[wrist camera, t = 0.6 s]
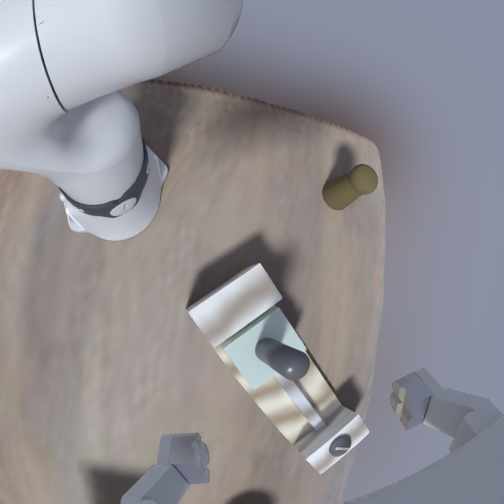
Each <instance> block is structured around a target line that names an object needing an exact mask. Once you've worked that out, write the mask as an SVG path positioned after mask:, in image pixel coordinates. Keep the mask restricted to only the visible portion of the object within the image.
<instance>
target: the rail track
mask: <svg viewBox="0 0 504 504" xmlns="http://www.w3.org/2000/svg"><path fill="white" fill-rule="evenodd" d="M282 298H283V297H282V296H281V294H280V293H279V291H278V290H277V288H276V287H275V285H274V284H273V282H272V280H271V279H270V277H269V276H268V274H267V273H266V271H265V270H264V268H263V267H262V265H261V264H260V263H258V264H255V265H252V266H249V267H247V268H245V269H244V270H242V271H241V272H239V273H238V274H236V275H235V276H233V277H232V278H231V279H229V280H228V281H226V282H225V283H223V284H222V285H220V286H219V287H217V288H216V289H214V290H213V291H211V292H210V293H208V294H207V295H205V296H204V297H202V298H201V299H199V300H198V301H197V302H195V303H194V304H192V305H191V306H189V307H188V308H186V310H187V311H188V313H189V314H190V316H191V317H192V319H193V320H194V321H195V323H196V324H197V326H198V327H199V329H200V330H201V331H202V333H203V334H204V336H205V337H206V338H207V340H208V341H209V343H210V344H211V345H212V347H213V348H214V349H215V351H216V352H217V353H218V355H219V356H220V357H221V359H222V360H223V361H224V363H225V364H226V365H227V367H228V368H229V369H230V371H231V372H232V373H233V374H234V376H235V377H236V378H237V380H238V381H239V382H240V383H241V385H242V386H243V387H244V388H245V390H246V391H247V392H248V393H249V395H250V396H251V397H252V398H253V400H254V401H255V402H256V403H257V404H258V406H259V407H260V408H261V409H262V410H263V412H264V413H265V414H266V415H267V416H268V418H269V419H270V420H271V421H272V422H273V423H274V425H275V426H276V427H277V428H278V429H279V430H280V431H281V433H282V434H283V435H284V436H285V437H286V438H287V439H288V440H289V441H290V443H291V444H292V445H293V446H294V447H295V448H296V449H297V450H298V451H299V452H300V453H301V455H302V456H303V457H304V458H305V459H306V460H307V461H308V462H309V463H310V464H311V465H312V466H313V467H314V468H315V469H316V470H317V471H318V472H319V473H320V474H322V473H323V472H324V471H326V470H327V469H328V468H329V467H331V466H332V465H333V464H334V463H336V462H337V461H338V460H339V459H340V458H342V457H343V456H344V455H345V454H346V453H347V452H349V451H350V450H351V449H352V448H353V447H354V446H355V445H356V444H358V443H359V442H360V441H361V440H362V439H363V438H364V437H365V436H366V435H367V434H368V433H369V430H368V429H367V427H366V426H365V424H364V422H363V421H362V419H361V418H360V416H359V415H358V414H357V413H355V412H353V411H351V410H350V409H348V408H346V407H344V406H342V405H341V403H340V402H339V400H338V399H337V397H336V396H335V394H334V393H333V391H332V390H331V388H330V387H329V385H328V384H327V382H326V381H325V379H324V378H323V376H322V375H321V373H320V372H319V370H318V369H317V367H316V366H315V364H314V363H313V361H312V360H311V358H310V357H309V355H308V354H307V352H306V351H304V353H306V354H307V356H308V357H309V360H310V367H309V370H308V372H307V374H306V375H305V376H304V377H303V378H301V379H299V380H296V381H291V380H288V379H286V378H285V377H283V376H282V375H280V374H279V373H277V374H275V375H274V376H273V377H271V378H270V379H269V380H267V381H266V382H265V383H263V384H262V385H261V386H259V387H258V388H257V389H255V390H254V389H253V388H252V387H251V386H250V384H249V383H248V382H247V381H246V379H245V378H244V377H243V376H242V374H241V373H240V372H239V370H238V369H237V368H236V366H235V365H234V364H233V362H232V361H231V360H230V358H229V357H228V356H227V354H226V353H225V352H224V350H223V349H222V348H221V346H220V344H221V343H223V342H224V341H226V340H227V339H228V338H230V337H231V336H233V334H235V333H236V332H237V331H240V330H241V329H243V328H244V327H245V326H247V325H248V324H249V323H251V322H252V321H253V320H254V319H255V318H257V317H259V316H260V315H262V314H263V313H264V312H266V311H267V310H269V309H270V308H271V307H276V306H275V304H276V303H277V302H278V301H280V300H281V299H282Z"/></svg>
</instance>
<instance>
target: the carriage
mask: <svg viewBox="0 0 504 504" xmlns="http://www.w3.org/2000/svg"><path fill="white" fill-rule="evenodd" d="M220 346H221V348H222V349H223V350H224V352H225V353H226V354H227V356H228V357H229V358H230V360H231V361H232V362H233V364H234V365H235V366H236V368H237V369H238V370H239V372H240V373H241V374H242V376H243V377H244V378H245V379H246V381H247V382H248V383H249V384H250V386H251V387H252V388H253V389H254V390H255V389H257V388H258V387H259V386H261V385H262V384H263V383H265V382H266V381H267V380H269V379H270V378H271V377H273V376H274V375H275V374H277V373H279V374H280V375H282V376H283V377H285V378H286V379H288V380H291V381H296V380H299V379H301V378H303V377H304V376H305V375H306V374H307V372H308V370H309V367H310V360H309V357H308V356H307V354H306V353H304V351H305V350H307V349H306V347H305V346H304V344H303V343H302V341H301V340H300V338H299V337H298V335H297V333H296V332H295V330H294V329H293V327H292V326H291V324H290V323H289V321H288V320H287V318H286V317H285V315H284V314H283V312H282V311H281V309H280V308H279V307H271V308H270V309H269V310H267V311H266V312H264V313H263V314H262V315H260V316H259V317H257V318H255V319H254V320H253V321H252V322H251V323H249V324H248V325H247V326H245V327H244V328H243V329H241V330H240V331H237V332H236V333H235V334H233V336H231V337H230V338H228V339H227V340H226V341H224V342H223V343H221V344H220Z"/></svg>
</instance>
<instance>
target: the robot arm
mask: <svg viewBox="0 0 504 504" xmlns="http://www.w3.org/2000/svg"><path fill="white" fill-rule="evenodd" d="M242 4H243V0H0V169H7V170H16V171H23V172H29V173H35V174H39V175H42V176H45V177H47V178H49V179H50V180H52V181H53V182H54V183H55V184H56V185H57V186H59V189H60V191H61V193H60V198H61V200H62V201H64V206H65V210H66V215H67V219H68V223H69V226H70V228H71V229H72V230H73V231H75V232H88V233H91V234H93V235H95V236H97V237H99V238H102V239H106V240H114V241H115V240H124V239H127V238H130V237H133V236H135V235H136V234H138V233H140V232H141V231H142V230H144V229H145V228H146V227H147V226H148V225H149V223H150V222H151V221H152V220H153V218H154V216H155V214H156V212H157V210H158V207H159V203H160V196H161V187H162V185H163V183H164V181H165V179H166V177H167V175H168V169H167V166H166V165H165V164H164V163H163V162H162V161H161V160H160V159H159V158H158V157H157V156H156V155H155V153H154V152H153V151H152V150H151V149H150V148H149V147H148V146H147V145H146V144H145V142H144V139H143V137H142V136H141V129H140V121H139V115H138V112H137V110H136V108H135V106H134V104H133V103H132V101H131V100H130V99H129V98H128V97H127V96H126V95H124V94H123V93H122V92H120V91H119V90H120V89H123V88H126V87H128V86H131V85H134V84H137V83H141V82H144V81H147V80H150V79H154V78H157V77H160V76H162V75H164V74H166V73H169V72H171V71H173V70H176V69H178V68H180V67H183V66H185V65H188V64H190V63H192V62H195V61H197V60H199V59H201V58H204V57H206V56H209V55H211V54H214V53H216V52H218V51H219V50H220V49H221V48H222V47H223V46H224V45H225V44H226V42H227V41H228V40H229V38H230V37H231V35H232V33H233V32H234V30H235V28H236V26H237V23H238V21H239V18H240V15H241V11H242ZM392 389H393V390H394V391H393V393H392V394H391V397H390V400H391V406H392V408H393V410H394V412H395V413H396V414H399V415H401V417H400V421H401V423H402V424H403V426H404V427H405V429H406V430H408V429H410V428H412V427H414V426H416V425H418V424H421V423H423V424H426V425H428V426H430V427H432V428H434V429H436V430H438V431H440V432H443V433H445V434H447V435H449V436H451V437H454V439H453V441H452V443H451V445H450V447H449V450H450V452H451V453H450V454H448V455H446V456H445V457H443V458H441V459H440V460H438V461H436V462H434V463H433V464H431V465H429V466H427V467H425V468H424V469H422V470H420V471H418V472H416V473H414V474H412V475H410V476H408V477H406V478H404V479H402V480H400V481H398V482H395V483H393V484H391V485H389V486H386V487H384V488H382V489H379V490H377V491H374V492H372V493H369V494H367V495H364V496H362V497H358V498H356V499H353V500H350V501H347V502H344V503H341V504H504V414H502V413H501V412H500V411H499V410H498V409H497V408H496V407H495V406H494V405H493V404H492V403H491V401H490V400H489V399H487V398H483V397H479V396H475V395H471V394H467V393H463V392H460V391H456V390H452V389H449V388H445V389H443V388H442V387H441V386H440V384H439V383H438V382H437V381H436V380H435V379H434V378H433V377H432V376H431V375H430V374H429V372H428V371H427V370H426V369H424V368H422V369H420V370H418V371H416V372H414V373H411V374H409V375H407V376H405V377H402V378H400V379H398V380H396V381H394V382H393V384H392ZM208 463H209V452H208V448H207V446H206V444H205V443H204V442H202V441H201V436H200V434H199V433H185V434H168V435H163V436H162V437H161V441H160V447H159V453H158V459H157V465H153V466H152V467H151V468H150V469H149V470H148V471H147V472H146V473H145V474H144V475H143V476H142V477H141V478H140V479H139V480H138V481H137V482H136V483H135V484H134V485H133V486H132V487H131V488H130V489H129V490H128V491H127V492H126V493H125V494H124V495H123V496H122V498H121V503H120V504H178V503H179V501H180V500H181V498H182V497H183V495H184V494H185V492H186V491H187V490H188V488H189V487H190V484H202V483H209V469H208V468H207V465H208Z"/></svg>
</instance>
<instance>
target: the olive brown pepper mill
mask: <svg viewBox="0 0 504 504" xmlns="http://www.w3.org/2000/svg"><path fill="white" fill-rule="evenodd" d="M377 184H378V177H377V174H376V172H375V171H374V170H373V168H371V167H370V166H368V165H365V164H360V165H357V166H355V167H354V168H353V169H352V170H351V171H350V173H349V174H347V175H344V176H341V177H339V178H336V179H334V180H331V181H329V182H327V183H326V184H325V185H324V187H323V192H322V194H323V198H324V200H325V202H326V204H327V205H328V206H329V207H331V208H332V209H335V210H342V209H344V208H345V207H347V206H348V205H349V204H350V203H352V202H353V201H354V200H356V199H357V198H358V197H359V196H361V195H365V194H370V193H372V192H373V191H374V190H375V189H376V188H377Z"/></svg>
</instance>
